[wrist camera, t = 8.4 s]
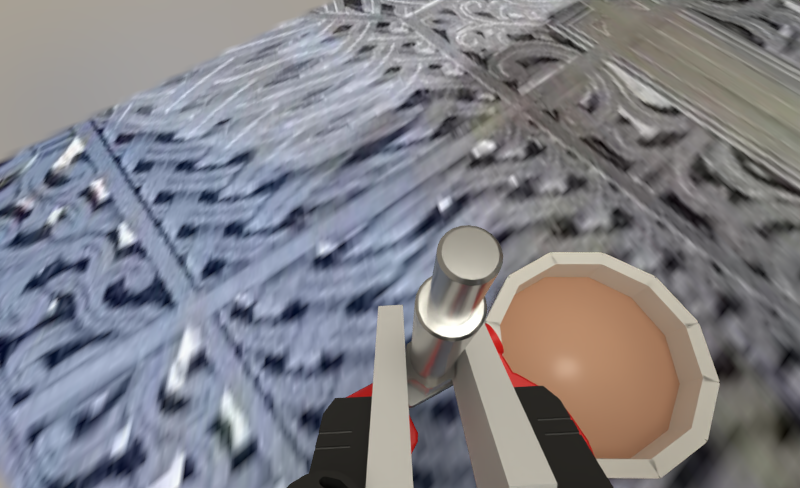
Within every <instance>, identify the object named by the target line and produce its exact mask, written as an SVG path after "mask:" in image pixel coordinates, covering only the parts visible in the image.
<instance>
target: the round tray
mask: <svg viewBox="0 0 800 488" xmlns="http://www.w3.org/2000/svg"><path fill="white" fill-rule="evenodd" d="M654 278H655V276H653V275H651V274H649V273H646V272H644V271H642V270H640V269H638V268H635V267H633V266H631V265H629V264H627V263H624V262H622V261H620V260H618V259H616V258H614V257H611V256H609V255H607V254H605V253H603V254H602V253H600V252H551V253H548V254H546V255H545V256H543V257H541V258H539V259H537V260H536V261H534V262H532V263H530V264H529V265H527V266H525V267H523V268H522V269H520V270H518V271H516V272H514V273H513V274H511V275H509V276H508V277H507V279H506V280H505V282H504V284H503V286H502V287H501V289H500V291H499V293H498V295H497V297H496V299H495V301H494V303H493V305H492V307H491V309H490V310H489V312H488V315H487V317H486V319H485V321H484V323H487V324H489V325H490V326H491V327H492V328H493V329H494V331H495V332H496V334H497V335H498V337H499V339H500V341H501V343H502V346H503V349H504V353H503V354H502V355H503V357H504V358H505V360H506V361H507V363H508V365H509V366H510V368H511V370H512V371H513V372H514V373H517V374H519V375H521V376H522V377H524V378H526V379H528V380H529V381H531V382H533V383H535V384H536V385H538V386H544V387H545V388H547V389H548V390H549V391H550V392H552V393H553V394H554V395H555V396H557V397H558V398H559V399H560V400H561V402H562V403H563V405H564V407H565V408H566V410H567V411H568V412H569V413H570V415H571V416H572V418H573V419H574V420H575V422H576V423H577V425H578V426H579V428H580V429H581V431H582V432H583V433H584V435H585V436H586V438H587V439H588V441H589V444H590V446H591V448H592V451H593V453H594V456H595V458H596V460H597V461H598V463H599V465H600V466H601V468H602V470H603V471H604V473H605V475H606V476H607V478H646V479H659V478H662V477H663V476H664V475H666V474H667V473H668V472H669V471H671V470H672V469H673V468H674V467H676V466H677V465H678V464H680V463H681V462H682V461H683V460H685V459H686V458H687V457H688V456H690V455H691V454H692V453H694V452H695V451H696V450H697V449H699V448H700V447H701V446H702V445H704V444H705V443H706V441H708V437H709V432H710V427H711V423H712V418H713V413H714V408H715V403H716V399H717V394H718V389H719V384H720V383H718V382H719V379H718V376H717V373H716V370H715V367H714V364H713V361H712V359H711V356H710V353H709V350H708V347H707V344H706V341H705V339H704V336H703V333H702V330H701V327H700V324H697V323H698V321H697V320H696V319H695V318H694V317H693V316H692V315H691V314H690V313H689V312H688V311H687V309H686V308H685V307H684V306H683V305H682V304H681V303H680V302H679V301H678V300H677V299H676V298H675V297H674V296H673V295H672V294H671V292H670V291H669V290H668V289H667V288H666V287H665V286H664V285H663V284H662V283H661V282H660V281H659V280H658V279H657V278H655V279H654Z"/></svg>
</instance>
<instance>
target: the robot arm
mask: <svg viewBox="0 0 800 488" xmlns="http://www.w3.org/2000/svg"><path fill="white" fill-rule="evenodd" d="M452 382H453V386H454V390H455V395H456V399H457V403H458V408H459V412H460V416H461V421H462V425H463V429H464V434H465V438H466V442H467V447H468V451H469V455H470V460H471V464H472V468H473V473H474V477H475V481H476V486H477V488H613V486H612V485H611V483H610V481H609V480H608V478H607V476H606V475H605V473H604V471H603V470H602V468H601V466H600V465H599V463H598V461H597V460H596V458H595V456H594V455H593V453H592V451H591V450H590V448H589V446H588V445H587V443H586V442H585V440H584V438H583V437H582V435H580V434H579V430H578V428H577V427H576V425H575V423H574V422H573V420H571V418H570V415H569V413H568V412H567V410H566V408H565V407H564V405H563V403H562V402H561V400H560V399H559V398H558V397H557V396H555V395H554V394H553V393H552V392H550V391H549V390H548V389H547V388H545V387H544V386H526V387H513V385H512V383H511V381H510V378H509V376H508V374H507V372H506V370H505V367H504V365H503V363H502V361H501V359H500V356H499V354H498V352H497V350H496V348H495V345H494V343H493V341H492V339H491V337H490V334H489V332H488V330H487V328H486V326H485V323H483V325H482V326H481V328H480V329H479V330H478V332H477V333H476V334H475V336H474V337H473V338H472V340H471V341H470V342H469V344H468V345H467V346H466V348H465V349H464V350H463V352H462V353H461V354H460V356H459V357H458V358H457V360H456V361H455V377H454V378H453V379H452ZM287 488H413V475H412V458H411V441H410V424H409V406H408V389H407V372H406V355H405V338H404V321H403V305H391V306H379V307H378V321H377V335H376V349H375V363H374V377H373V391H372V396H368V397H349V398H335V399H334V400H333V402H332V403H331V404H330V406H329V407H328V408H327V410H326V411H325V412H324V413H323V417H322V421H321V425H320V430H319V435H318V438H317V442H316V447H315V451H314V455H313V459H312V464H311V468H310V472H309V474H306V475H304V476H302V477H301V478H299V479H298V480H296V481H294V482H293V483H291V484H290V485H289V486H288V487H287Z"/></svg>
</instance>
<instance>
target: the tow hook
mask: <svg viewBox="0 0 800 488" xmlns="http://www.w3.org/2000/svg"><path fill="white" fill-rule="evenodd" d="M502 263H503V253H502V249H501V246H500V244H499V242H498V241H497V240H496V238H495V237H494V236H493V235H492V234H491V233H489V232H488V231H486V230H484V229H482V228H479V227H476V226H470V225H467V226H459V227H456V228H453V229H451V230H450V231H448V232H447V233H446V234H445V235H444V236H443V237H442V238H441V240H440V242H439V244H438V247H437V253H436V258H435V264H434V270H433V275H432V276H431V277H430V278H428V279H427V280H426V281H425V282H424V283H423V284H422V285H421V286H420V288H419V290H418V292H417V294H416V300H415V307H414V320H413V333H412V341H411V342H410V343H408V344H407V347H406V372H407V389H408V406H409V408H414V407H415V406H417V405H419V404H421V403H423V402H424V401H426V400H428V399H430V398H432V397H433V396H435V395H437V394H439V393H440V392H442V391H444V390H446V389H448V388H449V387H451V386H453V382H452V379H453V378H454V377H455V361H456V360H457V358H458V357H459V356H460V354H461V353H462V352H463V350H464V349H465V348H466V346H467V345H468V344H469V342H470V341H471V340H472V338H473V337H474V336H475V334H476V333H477V332H478V330H479V329H480V328H481V326H482V325H483V323H484V320H485V318H486V313H487V304H486V298H485V295H486V293H487V291H488V290H489V288H490V286H491V285H492V283H493V281H494V280H495V278H496V276H497V275H498V273H499V271H500V269H501V266H502ZM485 326H486V328H487V330H488V332H489V334H490V337H491V339H492V341H493V343H494V345H495V348H496V350H497V352H498V354H499V356H500V359H501V361H502V363H503V365H504V367H505V370H506V372H507V374H508V376H509V378H510V381H511V383H512V385H513V387H526V386H538V385H536V384H535V383H533V382H531V381H529V380H528V379H526V378H524V377H522V376H521V375H519V374H517V373H514V372H513V371H512V370H511V368H510V366H509V365H508V363H507V361H506V360H505V358H504V357H503V355H502V354H503V353H504V349H503V346H502V343H501V341H500V339H499V337H498V335H497V334H496V332H495V331H494V329H493V328H492V327H491V326H490V325H489V324H487V323H485ZM372 391H373V383H372V384H370V385H368V386H367V387H365V388H363V389H361V390H359V391H357V392H355V393H353V394H352V395H350V396H348V397H346V398H349V397H368V396H372ZM567 412H568V411H567ZM568 413H569V412H568ZM569 415H570V413H569ZM570 418H571V420H573V422H574V423H575V425H576V427H577V428H578V430H579V434H580V435H582V437H583V438H584V440H585V442H586V443H587V445H588V446H589V448H590V450H591V451H592V448H591V446H590V444H589V441H588V439H587V438H586V436H585V435H584V433H583V432H582V431H581V429H580V428H579V426H578V425H577V423H576V422H575V420H574V419H573V418H572V416H571V415H570ZM409 424H410V441H411V454H412V452H413V450H414V448H415V446H416V444H417V442H418V432H417V430H416V428H415V426H414V424H413V422H412V420H411V418H410V416H409ZM592 453H593V451H592ZM593 455H594V453H593Z"/></svg>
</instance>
